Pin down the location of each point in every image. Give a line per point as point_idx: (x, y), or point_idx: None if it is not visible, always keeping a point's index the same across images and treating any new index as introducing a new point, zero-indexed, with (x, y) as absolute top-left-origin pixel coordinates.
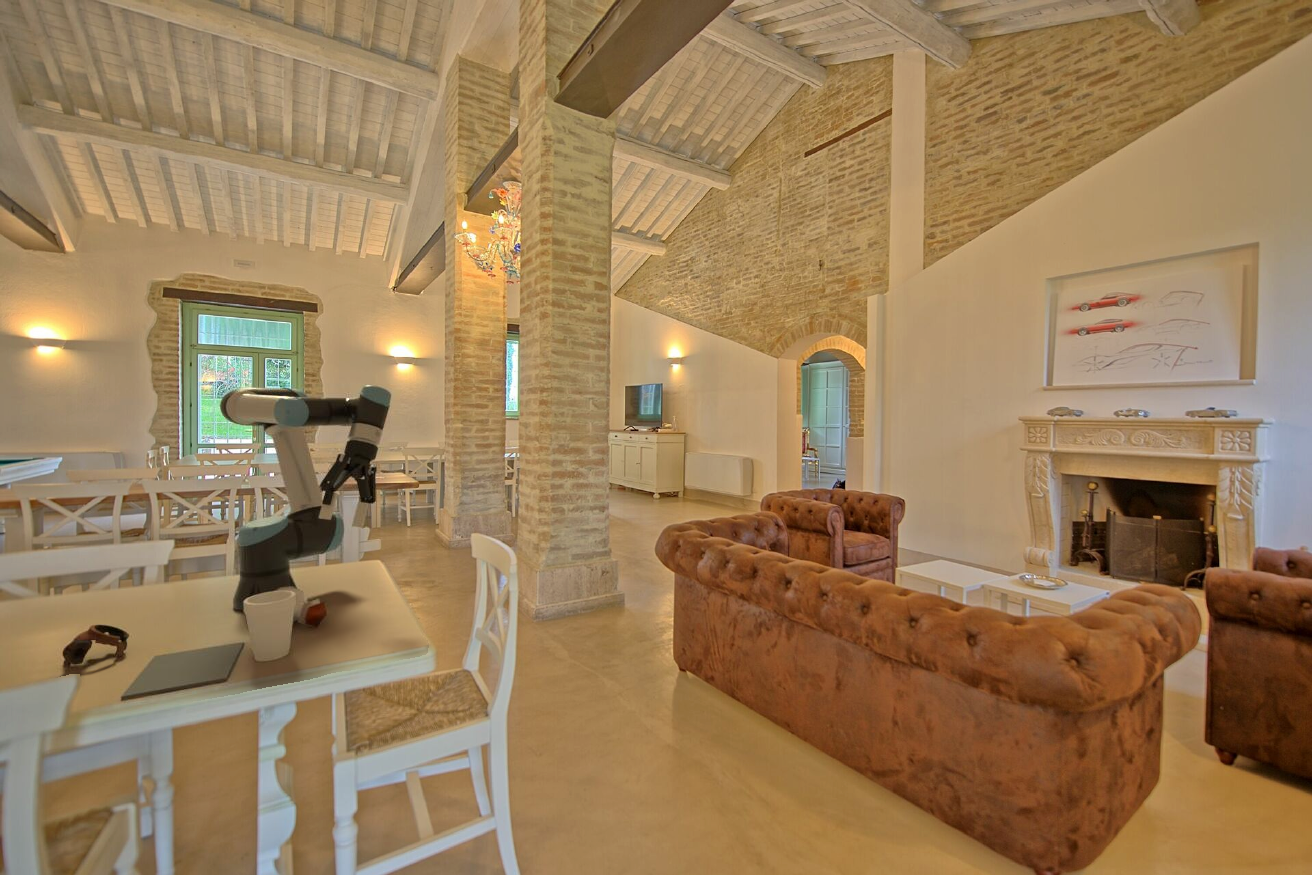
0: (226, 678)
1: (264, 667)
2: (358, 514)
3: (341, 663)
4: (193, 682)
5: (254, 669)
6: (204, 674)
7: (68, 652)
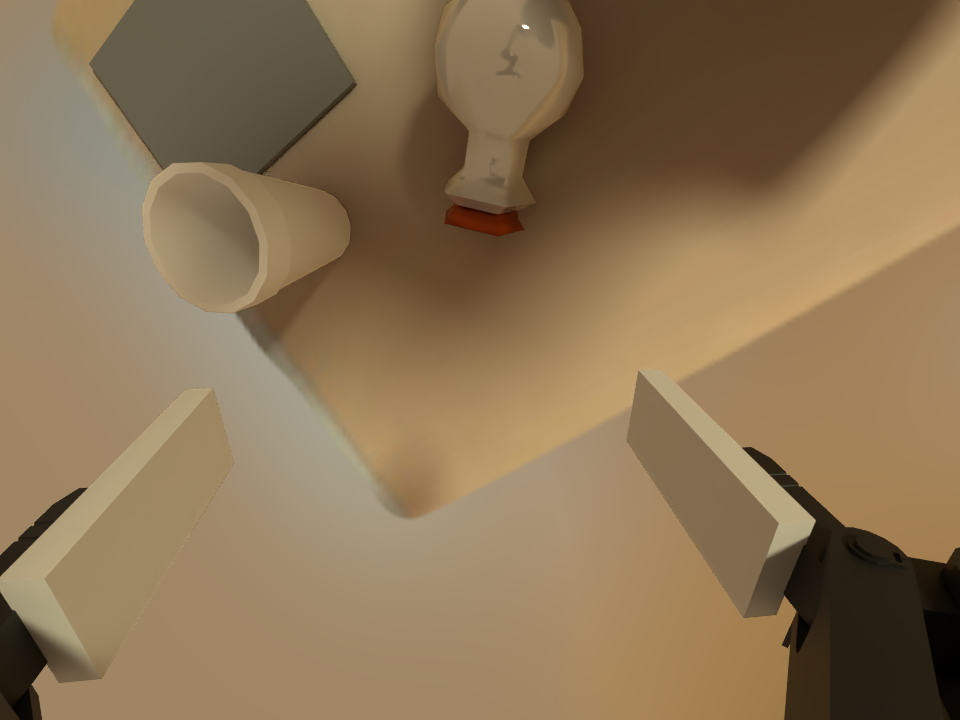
0: None
1: None
2: (681, 459)
3: (317, 405)
4: None
5: None
6: (198, 158)
7: None
